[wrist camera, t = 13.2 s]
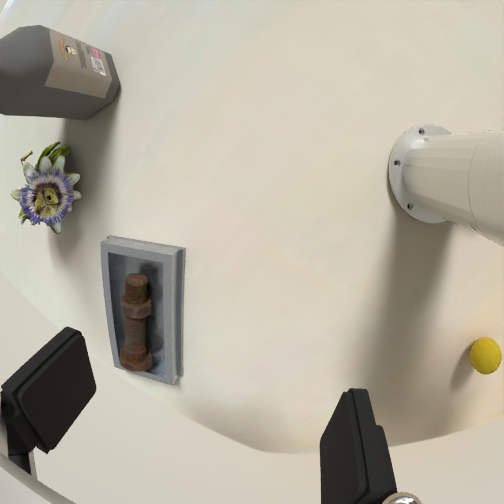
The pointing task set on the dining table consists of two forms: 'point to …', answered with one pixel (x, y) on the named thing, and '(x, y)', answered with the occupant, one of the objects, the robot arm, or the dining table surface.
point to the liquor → (53, 75)
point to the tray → (160, 293)
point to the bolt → (135, 323)
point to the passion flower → (47, 189)
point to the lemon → (485, 355)
